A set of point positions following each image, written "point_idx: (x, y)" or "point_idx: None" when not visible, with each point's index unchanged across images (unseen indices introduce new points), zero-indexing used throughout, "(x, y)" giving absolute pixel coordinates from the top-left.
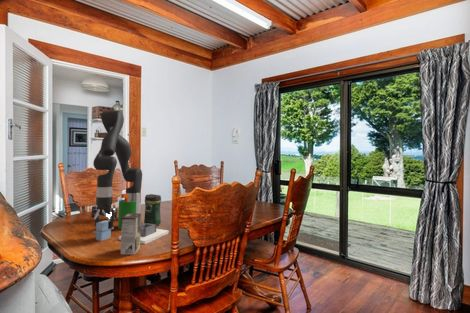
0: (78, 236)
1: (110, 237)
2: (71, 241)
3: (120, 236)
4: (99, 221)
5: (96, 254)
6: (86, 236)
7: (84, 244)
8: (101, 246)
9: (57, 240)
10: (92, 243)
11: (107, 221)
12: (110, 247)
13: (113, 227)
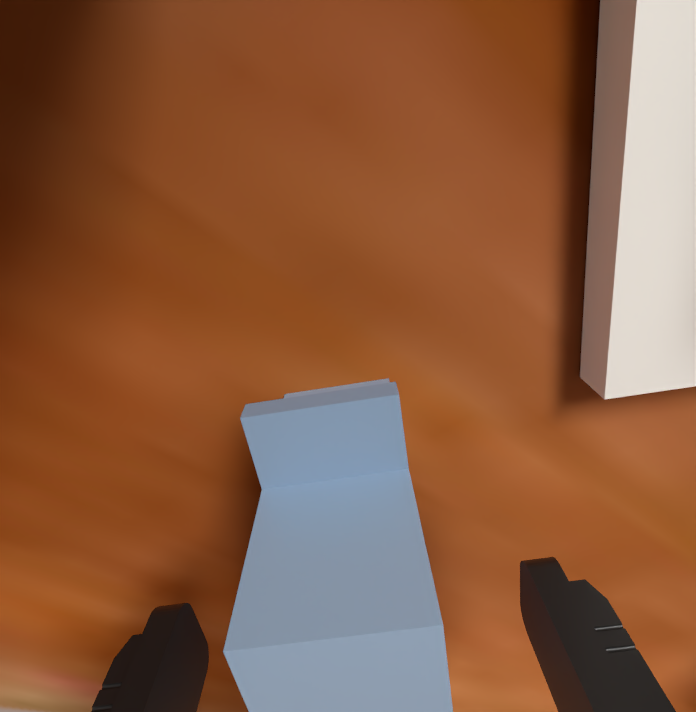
0: (19, 563)
1: (388, 380)
2: None
3: (623, 381)
4: (147, 710)
5: (681, 701)
6: (87, 518)
7: None
8: None
9: (35, 703)
10: None
11: (396, 688)
12: (681, 576)
13: (395, 399)
